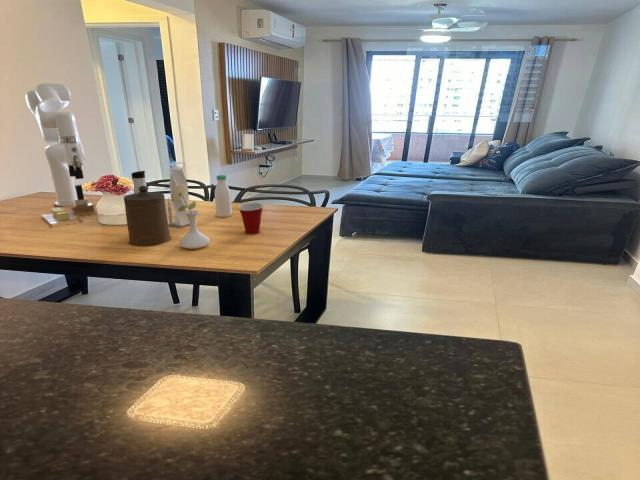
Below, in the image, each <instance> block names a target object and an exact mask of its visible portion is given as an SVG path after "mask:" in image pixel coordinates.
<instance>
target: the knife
mask: <svg viewBox="0 0 640 480" xmlns="http://www.w3.org/2000/svg"><path fill="white" fill-rule="evenodd" d="M75 189H76V194H77V199H78V200H75V203H76V204H75V205H76V207H77V206H84V205H88V199H87V198H85V197H84V191H83V186H82V184H75Z"/></svg>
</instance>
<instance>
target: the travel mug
mask: <svg viewBox="0 0 640 480" xmlns="http://www.w3.org/2000/svg"><path fill="white" fill-rule="evenodd" d="M145 173H146V170H138V171H133V172H131V173H130V175H131V181H134V189H133V194H135V193H139V192H140V191H139V187H141V186H146V187H148V186H147V179H146V174H145Z"/></svg>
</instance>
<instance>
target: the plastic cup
mask: <svg viewBox="0 0 640 480" xmlns="http://www.w3.org/2000/svg"><path fill="white" fill-rule="evenodd" d="M263 208H264V204H263V203H260V202H251V203H244V204H241V205H239V206H237V209H238V210H239V212H240V215H241V218H242V224H243V227H244V231H245V234H249V235H255V234H258V233H260V229H261V223H262V222H261V221H262V213H263Z"/></svg>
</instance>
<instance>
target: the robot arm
mask: <svg viewBox="0 0 640 480" xmlns="http://www.w3.org/2000/svg"><path fill="white" fill-rule="evenodd" d="M71 100H72V94H71V90H70V89H69V87H68V86H67V85H65V84H62V83H48V82H47V83H45V82H44V83H39V84H37V85H36V86H35V89H32V90H29V91H27V92H26V93H25V101H26V104H27V107H28V108H29V110H30V111H31V113H32V114H33V116H34V117H35V118H36V120H37V123H38V125H39V129H40V132H41V135H42V138H43V140H44V141H45V142H46V144H48V145H47V146H46V147H45V148H44V155H45V158H46V160H47V163H48V166H49V169H50V174H51V178H52V183H53V187H54V191H55V196H56V201H55V202H54V206H56V207H68V206H74V205H76V203H75V200H78V199H77V194H76V189H75V185H76V181H75V179H76V180H82V179H84V172H83V168H82V166H84V160H86V159H85V158H86V154H85V150H84V147H83V144H82V141H81V138H80V135H79V132H78V128H77V118H76V116H75V114H74V113H73V112H70V111H61V110H63V108H67V106H68V105H69V104H70V102H71Z"/></svg>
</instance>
